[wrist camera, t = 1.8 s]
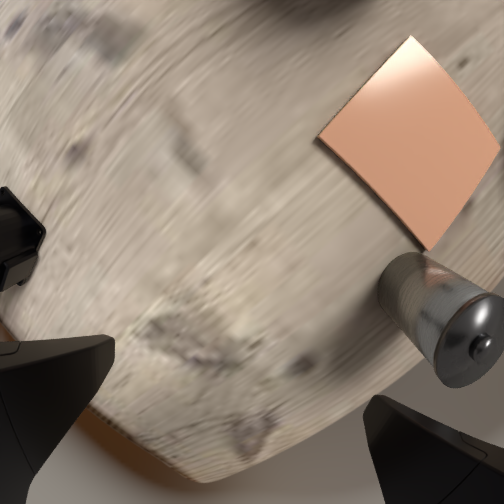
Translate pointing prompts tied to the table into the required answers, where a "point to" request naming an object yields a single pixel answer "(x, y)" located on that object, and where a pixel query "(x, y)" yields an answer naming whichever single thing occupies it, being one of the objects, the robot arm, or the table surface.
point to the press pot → (444, 317)
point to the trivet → (414, 141)
